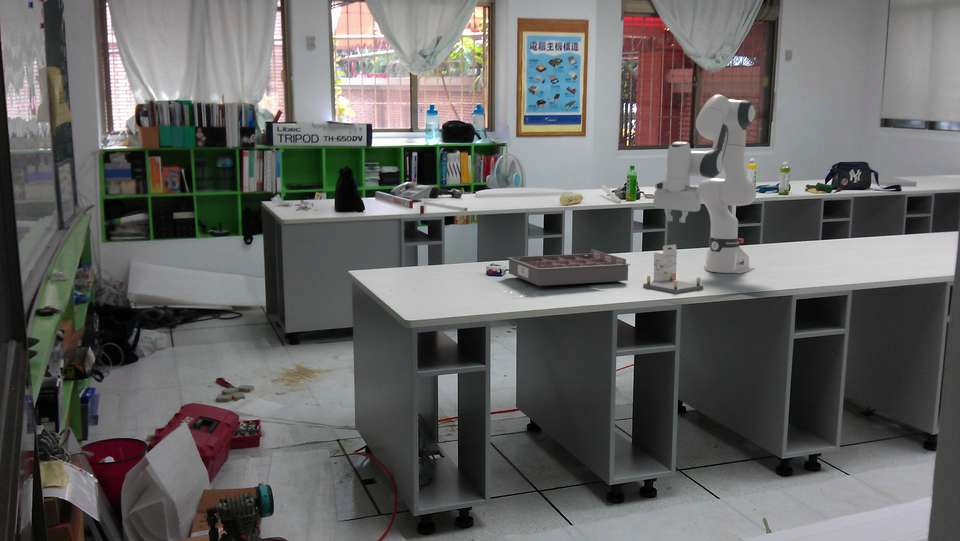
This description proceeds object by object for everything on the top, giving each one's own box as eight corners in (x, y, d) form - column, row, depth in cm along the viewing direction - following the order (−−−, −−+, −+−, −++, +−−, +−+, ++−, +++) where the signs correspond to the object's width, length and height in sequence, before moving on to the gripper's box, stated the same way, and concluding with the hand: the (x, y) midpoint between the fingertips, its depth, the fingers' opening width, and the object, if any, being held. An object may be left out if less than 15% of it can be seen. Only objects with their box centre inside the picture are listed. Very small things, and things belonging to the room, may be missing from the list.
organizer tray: (506, 276, 368) (506, 252, 366) (593, 271, 381) (593, 248, 380) (537, 289, 338) (537, 263, 337) (630, 284, 352) (631, 259, 350)
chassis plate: (670, 283, 353) (671, 272, 353) (703, 289, 341) (703, 277, 340) (643, 287, 344) (643, 275, 343) (675, 293, 331) (676, 281, 330)
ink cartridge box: (666, 278, 365) (668, 243, 362) (676, 280, 361) (677, 244, 358) (652, 280, 359) (654, 244, 357) (662, 282, 355) (663, 245, 353)
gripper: (705, 186, 330) (703, 223, 332) (662, 183, 346) (660, 219, 348) (694, 187, 326) (692, 224, 328) (651, 184, 342) (650, 220, 344)
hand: (675, 221), depth 338 cm, fingers open, 5 cm apart
